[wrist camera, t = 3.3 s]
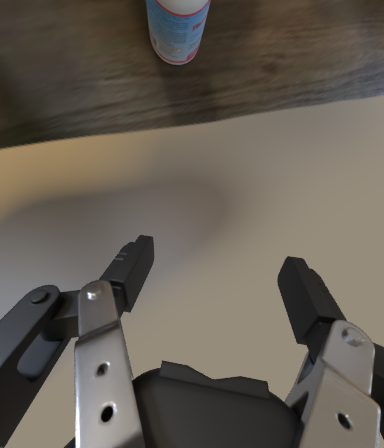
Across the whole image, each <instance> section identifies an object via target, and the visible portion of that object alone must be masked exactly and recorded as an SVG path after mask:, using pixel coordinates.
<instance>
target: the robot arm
mask: <svg viewBox="0 0 384 448" xmlns="http://www.w3.org/2000/svg"><path fill="white" fill-rule="evenodd" d="M153 261H154V243H153V237H151V236H144V235H140V236H139V237H138V239H137V240H136V241H135V243H134V242H130V243H128V244H127V245H125V246H124V247H123V248H122V249H121V250H120V252H119V254H117V256H116V257H115V259H114V260H113V261H112V263H111V264H110V265H109V267H108V268H107V269H106V271H105V272H104V273H103V275H102V276H101V277H100V279H99V280H96V281H93V282H90V283H89V284H87V285H85V286H84V287H83V288H82V289H81V290H77V291H67V292H60V291H59V289H58V287H56V286H54V285H45V286H41V287H38V288H36V289H34V290H32V291H30V292H29V293H28V294H26V295H25V296H24V297H23V298H22V299H21V300H20V301H19V302H18V303H17V304H16V305H15V306H14V307H13V308H12V309H11V310H10V311H9V312H8V313H7V314H6V315H5V316H4V317H3V318H2V319H1V320H0V448H4V447H5V445H6V444H7V442H8V440H9V439H10V437H11V435H12V434H13V432H14V431H15V429H16V427H17V426H18V424H19V423H20V421H21V419H22V418H23V416H24V414H25V413H26V411H27V409H28V408H29V406H30V404H31V403H32V401H33V400H34V398H35V396H36V395H37V393H38V392H39V390H40V388H41V387H42V385H43V383H44V382H45V380H46V378H47V377H48V375H49V374H50V372H51V370H52V368H53V367H54V365H55V364H56V362H57V361H58V359H59V357H60V356H61V354H62V352H63V351H64V349H65V347H66V346H67V344H68V343H69V341H70V339H71V338H73V337H79V339H78V341H76V342H75V349H74V350H75V351H74V354H75V437H74V438H73V439H72V440H71V441H70V442H69V443H68V444H67V445H66V446H65V447H64V448H379V432H380V433H381V435H382V437H383V439H384V347H382V346H380V345H377V344H375V343H373V342H372V341H371V339H370V338H369V336H368V335H367V334H366V333H365V332H364V331H363V330H361V329H360V328H358V327H357V326H356V325H354V324H352V323H350V322H348V321H347V320H346V318H345V317H344V315H343V313H342V312H341V310H340V308H339V307H338V305H337V303H336V302H335V300H334V298H333V297H332V295H331V294H330V293H329V290H328V288H327V287H326V286H325V284H324V282H323V280H322V279H321V277H320V276H319V275H318V274H317V273H316V272H315V271H314V270H313V269H309V268H308V266H307V264H306V262H305V260H304V259H302V258H296V257H289V256H288V257H287V258H286V259H285V262H284V264H283V266H282V268H281V270H280V272H279V275H278V287H279V289H280V293H281V296H282V299H283V302H284V305H285V308H286V311H287V313H288V317H289V320H290V323H291V326H292V329H293V332H294V336H295V338H296V342H297V343H298V344H303V345H307V347H308V350H309V351H308V352H307V354H306V356H305V358H304V361H303V363H302V366H301V368H300V371H299V373H298V376H297V378H296V381H295V383H294V386H293V388H292V390H291V391H290V393H289V394H288V396H287V398H286V399H285V401H284V402H283V401H282V400H281V399H280V398H279V397H277V396H276V395H274V394H273V393H271V392H270V391H269V389H268V383H267V382H266V381H261V380H257V379H252V378H247V377H242V376H239V377H231V378H223V379H211V378H209V377H207V376H205V375H203V374H202V373H200V372H198V371H196V370H194V369H193V368H191V367H189V366H187V365H182V364H177V363H172V362H167V361H162V364H161V368H157V369H153V370H149V371H147V372H145V373H143V374H141V375H140V376H138V377H136V378H135V379H134V378H133V373H132V369H131V365H130V361H129V356H128V352H127V348H126V343H125V339H124V334H123V330H122V325H121V321H120V318H121V316H122V314H123V312H124V311H125V312H131V310H132V308H133V306H134V303H135V302H136V299H137V297H138V295H139V293H140V291H141V289H142V286H143V284H144V282H145V280H146V278H147V275H148V273H149V271H150V269H151V267H152V265H153Z"/></svg>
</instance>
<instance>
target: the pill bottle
mask: <svg viewBox="0 0 384 448" xmlns="http://www.w3.org/2000/svg"><path fill="white" fill-rule="evenodd" d="M210 1H211V0H146V5H147V15H148V24H149V33H150V39H151V43H152V46H153V48H154V50H155V51H156V53H157V54H158V56H159V57H160V58H161V59H162V60H164V61H165V62H167V63H170V64H174V65H182V64H186V63H188V62H189V61H191V60H192V59H193V58H194V56H195V55H196V53H197V51H198V48H199V45H200V41H201V37H202V33H203V29H204V25H205V21H206V17H207V13H208V10H209V5H210Z"/></svg>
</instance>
